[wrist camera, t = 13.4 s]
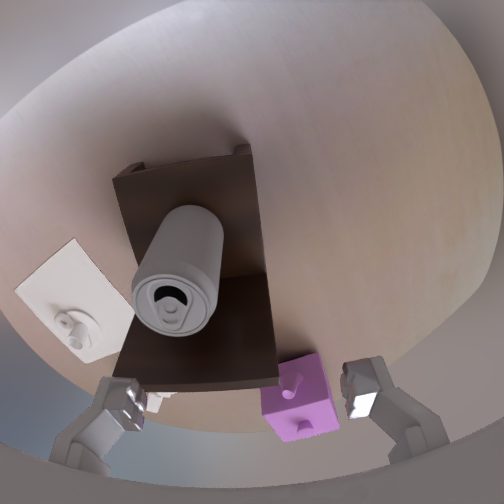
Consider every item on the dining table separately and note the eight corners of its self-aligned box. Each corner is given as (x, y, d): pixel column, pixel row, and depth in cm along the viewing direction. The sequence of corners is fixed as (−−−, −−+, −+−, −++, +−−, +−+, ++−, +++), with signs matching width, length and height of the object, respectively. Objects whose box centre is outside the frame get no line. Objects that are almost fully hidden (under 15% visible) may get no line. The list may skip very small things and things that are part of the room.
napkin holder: (157, 398, 55) (153, 421, 50) (118, 367, 50) (110, 391, 45) (217, 380, 52) (216, 406, 47) (178, 344, 47) (173, 371, 42)
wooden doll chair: (130, 164, 33) (33, 247, 15) (250, 143, 32) (261, 210, 15) (159, 267, 40) (115, 391, 22) (264, 254, 39) (280, 385, 22)
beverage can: (227, 205, 29) (219, 275, 19) (221, 262, 33) (213, 345, 22) (162, 199, 29) (121, 264, 18) (162, 255, 32) (131, 334, 21)
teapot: (330, 388, 55) (343, 441, 44) (282, 401, 56) (288, 455, 45) (308, 322, 45) (325, 389, 34) (246, 341, 47) (248, 408, 36)
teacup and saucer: (52, 314, 44) (42, 329, 40) (77, 298, 42) (66, 315, 38) (85, 347, 48) (78, 363, 44) (112, 335, 46) (105, 353, 42)
